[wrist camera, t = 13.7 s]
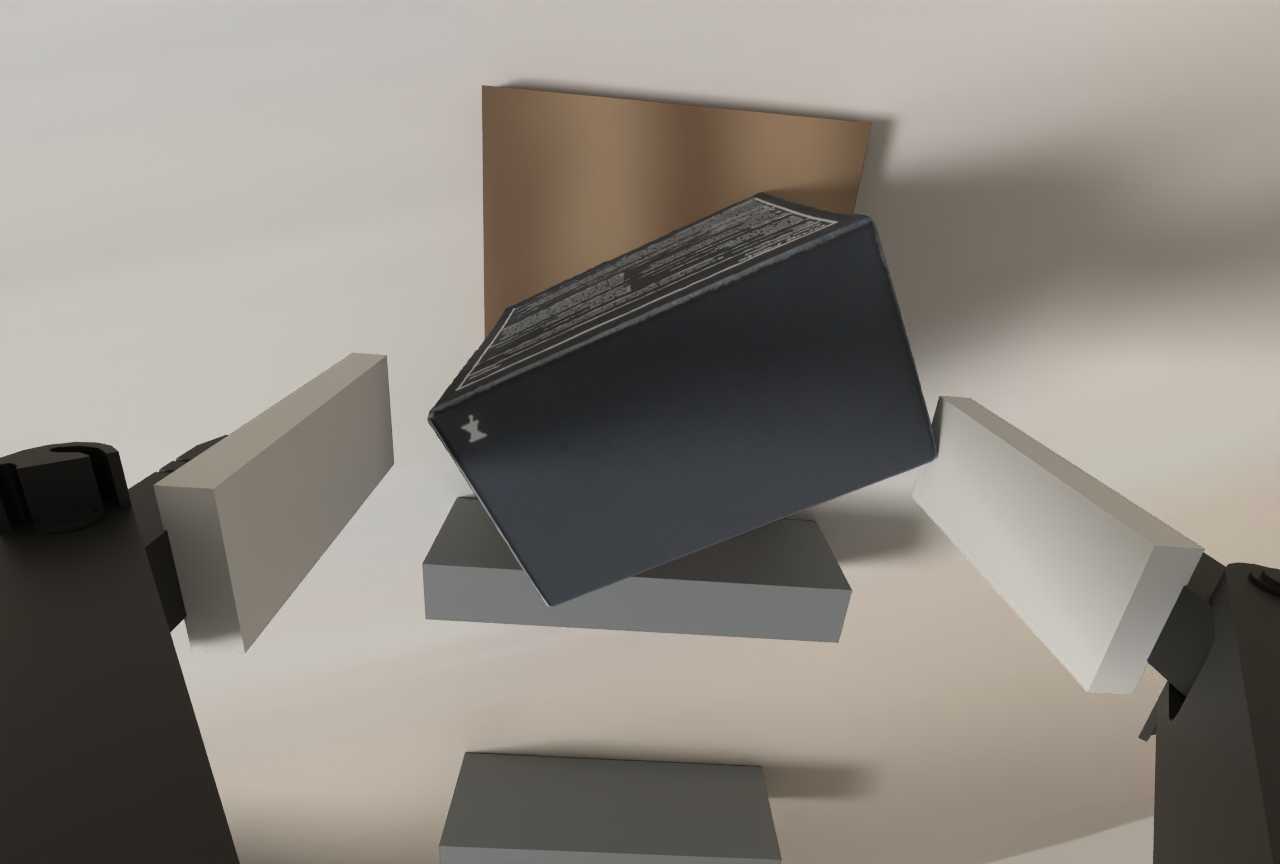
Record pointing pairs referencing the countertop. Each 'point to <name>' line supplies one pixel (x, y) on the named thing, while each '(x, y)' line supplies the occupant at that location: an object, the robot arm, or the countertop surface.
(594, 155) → the walnut pad
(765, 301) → the small box
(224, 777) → the countertop surface
